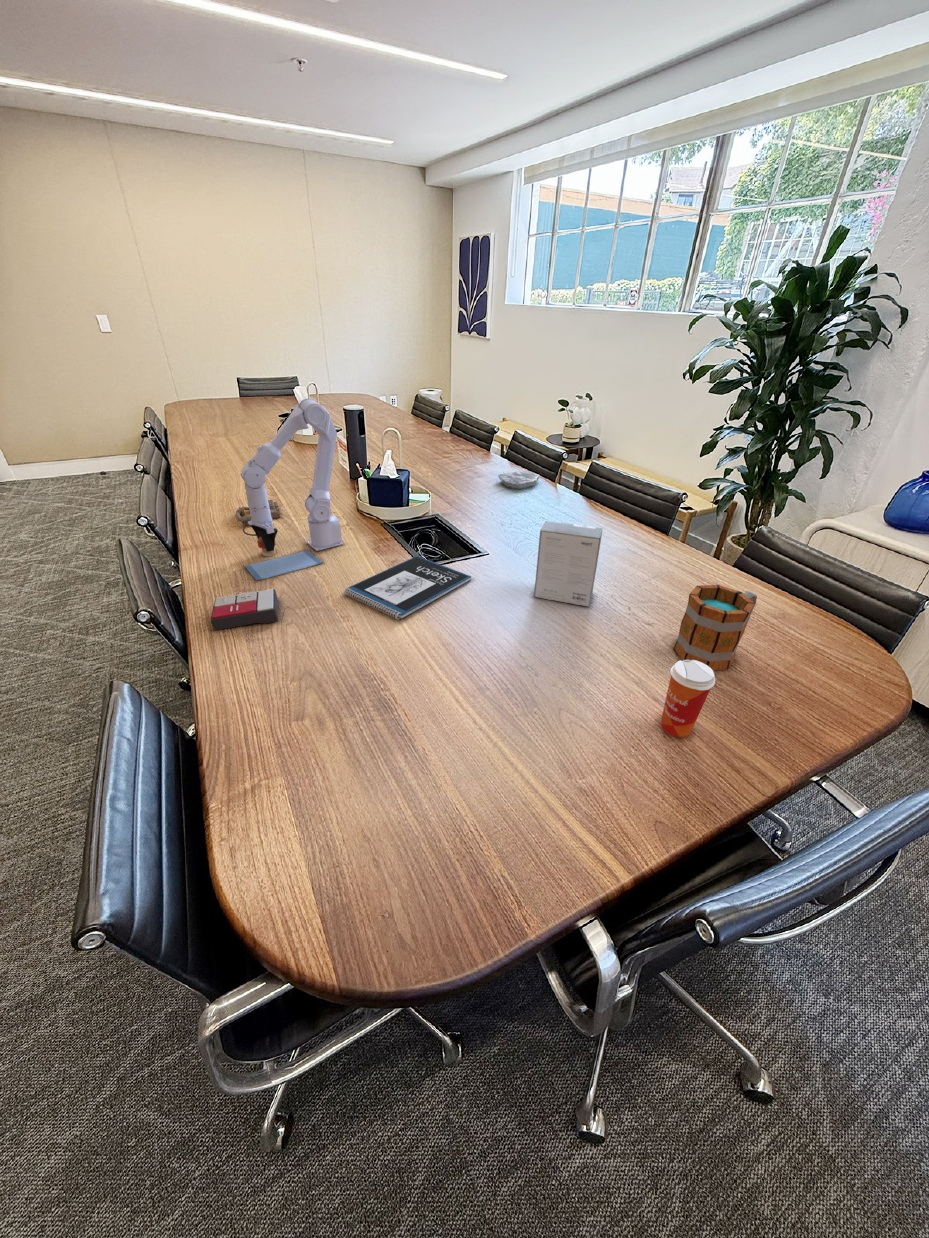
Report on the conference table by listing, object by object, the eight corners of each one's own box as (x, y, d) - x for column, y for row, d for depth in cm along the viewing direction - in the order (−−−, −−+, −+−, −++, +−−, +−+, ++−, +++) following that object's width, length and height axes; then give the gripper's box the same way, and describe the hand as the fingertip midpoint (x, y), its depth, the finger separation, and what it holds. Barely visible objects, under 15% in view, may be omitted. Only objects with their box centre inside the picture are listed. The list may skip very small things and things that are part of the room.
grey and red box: (213, 596, 131) (274, 586, 135) (218, 610, 133) (278, 600, 137) (209, 618, 122) (274, 606, 126) (214, 632, 125) (278, 621, 128)
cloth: (308, 551, 164) (308, 550, 164) (322, 563, 157) (322, 562, 156) (244, 567, 154) (244, 566, 153) (256, 581, 146) (256, 580, 146)
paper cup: (648, 714, 102) (665, 658, 95) (685, 712, 103) (704, 656, 96) (665, 743, 96) (683, 685, 88) (704, 741, 96) (726, 683, 89)
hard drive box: (592, 594, 143) (604, 528, 133) (589, 607, 137) (601, 538, 127) (538, 585, 148) (545, 519, 137) (532, 597, 141) (539, 529, 131)
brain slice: (512, 475, 239) (512, 468, 237) (544, 482, 231) (545, 475, 229) (489, 485, 225) (489, 478, 224) (522, 493, 217) (523, 486, 215)
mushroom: (273, 549, 165) (270, 530, 161) (279, 554, 161) (276, 535, 158) (257, 553, 162) (253, 533, 158) (263, 558, 158) (259, 539, 155)
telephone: (239, 540, 169) (236, 528, 167) (235, 508, 195) (233, 497, 192) (286, 536, 174) (285, 524, 172) (276, 505, 200) (275, 494, 198)
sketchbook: (471, 580, 150) (471, 574, 148) (398, 622, 129) (398, 615, 128) (417, 559, 161) (417, 553, 160) (342, 594, 140) (342, 588, 139)
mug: (707, 678, 113) (728, 620, 105) (660, 646, 122) (676, 592, 114) (763, 654, 121) (786, 599, 113) (715, 626, 131) (733, 574, 123)
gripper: (237, 501, 156) (247, 542, 163) (253, 515, 146) (262, 558, 153) (260, 497, 160) (268, 537, 167) (277, 510, 150) (285, 553, 157)
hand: (267, 547), depth 160 cm, fingers closed on mushroom, 5 cm apart
